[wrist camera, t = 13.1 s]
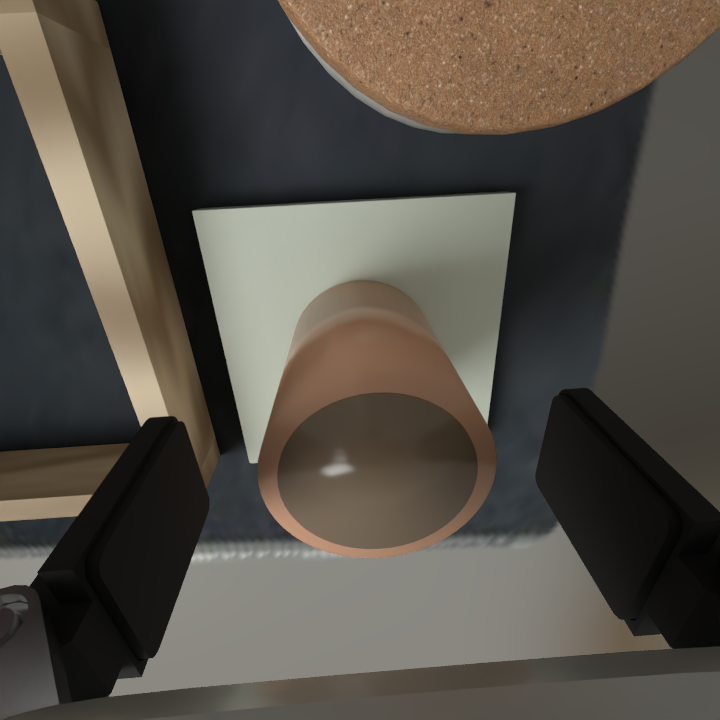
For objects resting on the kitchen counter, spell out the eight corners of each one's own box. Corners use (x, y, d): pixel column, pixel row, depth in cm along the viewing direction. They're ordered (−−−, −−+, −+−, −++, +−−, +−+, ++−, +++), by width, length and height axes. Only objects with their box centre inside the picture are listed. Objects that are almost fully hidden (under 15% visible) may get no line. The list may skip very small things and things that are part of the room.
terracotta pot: (284, 284, 16) (235, 383, 8) (432, 276, 16) (512, 366, 8) (301, 409, 18) (274, 568, 11) (427, 401, 18) (485, 553, 11)
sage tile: (200, 208, 15) (191, 210, 14) (505, 191, 15) (515, 192, 14) (253, 450, 20) (249, 463, 20) (478, 435, 21) (484, 447, 20)
